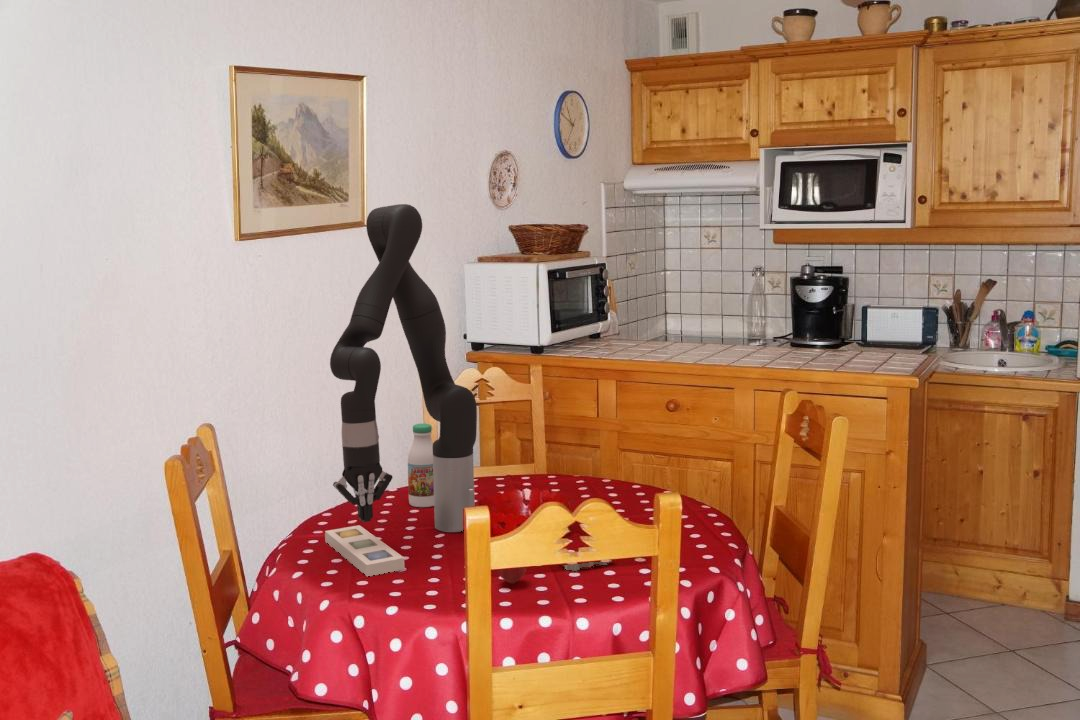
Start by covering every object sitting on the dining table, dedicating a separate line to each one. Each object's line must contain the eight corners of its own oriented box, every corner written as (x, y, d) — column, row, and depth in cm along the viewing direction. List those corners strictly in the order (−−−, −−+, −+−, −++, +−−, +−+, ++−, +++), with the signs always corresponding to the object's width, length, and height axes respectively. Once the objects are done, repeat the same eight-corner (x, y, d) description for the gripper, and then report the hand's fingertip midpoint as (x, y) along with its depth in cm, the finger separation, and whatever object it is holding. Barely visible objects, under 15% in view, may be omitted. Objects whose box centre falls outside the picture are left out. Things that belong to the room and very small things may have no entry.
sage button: (368, 548, 225) (368, 539, 225) (375, 553, 222) (375, 544, 221) (351, 551, 223) (350, 542, 223) (357, 556, 220) (357, 547, 219)
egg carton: (567, 574, 210) (567, 555, 209) (551, 563, 217) (551, 544, 216) (614, 566, 214) (614, 546, 214) (597, 555, 221) (597, 536, 221)
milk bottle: (406, 501, 263) (403, 423, 260) (436, 498, 265) (434, 420, 263) (412, 509, 256) (409, 429, 253) (443, 506, 258) (440, 426, 255)
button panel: (359, 535, 236) (359, 525, 235) (404, 569, 213) (404, 557, 213) (325, 542, 232) (324, 531, 231) (367, 576, 209) (366, 564, 209)
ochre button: (355, 537, 232) (354, 529, 232) (361, 542, 229) (361, 533, 229) (337, 540, 231) (337, 532, 230) (343, 545, 227) (343, 536, 227)
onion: (523, 590, 201) (522, 550, 200) (494, 588, 202) (493, 548, 201) (529, 579, 207) (529, 540, 206) (501, 577, 208) (500, 539, 207)
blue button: (383, 559, 218) (383, 550, 218) (390, 564, 214) (390, 555, 214) (365, 562, 216) (364, 553, 216) (372, 568, 212) (371, 559, 212)
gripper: (382, 433, 225) (387, 511, 228) (323, 442, 218) (329, 522, 221) (397, 439, 219) (401, 519, 222) (336, 449, 212) (342, 532, 215)
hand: (365, 521), depth 221 cm, fingers closed
